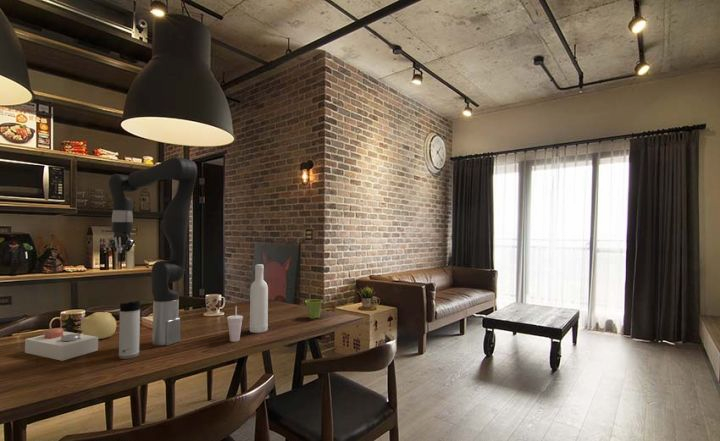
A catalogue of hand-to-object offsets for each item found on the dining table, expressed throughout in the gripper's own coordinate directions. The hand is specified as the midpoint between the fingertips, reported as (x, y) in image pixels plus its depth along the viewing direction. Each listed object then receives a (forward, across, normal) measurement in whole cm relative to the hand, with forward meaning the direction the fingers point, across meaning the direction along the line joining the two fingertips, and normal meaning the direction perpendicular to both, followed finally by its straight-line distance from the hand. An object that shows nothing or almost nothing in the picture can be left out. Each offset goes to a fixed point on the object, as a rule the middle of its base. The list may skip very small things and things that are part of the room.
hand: (121, 261), depth 158 cm
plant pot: (+32, -59, -63) cm, 92 cm away
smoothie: (+32, -48, -15) cm, 60 cm away
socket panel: (+32, +2, +21) cm, 38 cm away
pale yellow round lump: (+32, +7, +4) cm, 33 cm away
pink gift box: (+30, +7, +21) cm, 38 cm away
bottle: (+32, -48, -31) cm, 66 cm away
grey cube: (+32, -3, +21) cm, 38 cm away
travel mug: (+32, -26, +15) cm, 44 cm away
